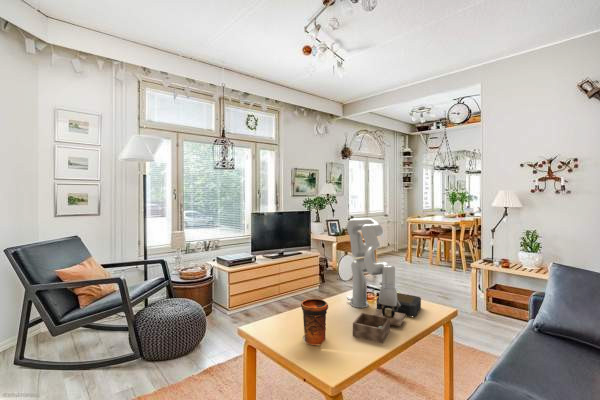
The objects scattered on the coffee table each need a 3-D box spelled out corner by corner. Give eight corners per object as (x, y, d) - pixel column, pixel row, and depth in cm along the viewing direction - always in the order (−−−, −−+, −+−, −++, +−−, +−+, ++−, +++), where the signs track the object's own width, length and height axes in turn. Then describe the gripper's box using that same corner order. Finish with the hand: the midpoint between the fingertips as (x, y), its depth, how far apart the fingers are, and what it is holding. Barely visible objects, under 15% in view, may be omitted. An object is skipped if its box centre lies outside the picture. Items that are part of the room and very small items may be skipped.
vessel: (298, 345, 155) (299, 306, 155) (302, 333, 170) (302, 297, 170) (327, 348, 153) (327, 308, 153) (328, 335, 168) (328, 299, 168)
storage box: (352, 337, 164) (352, 323, 164) (362, 326, 178) (362, 312, 178) (382, 345, 156) (382, 329, 156) (389, 332, 170) (390, 318, 170)
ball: (377, 332, 168) (377, 326, 168) (378, 330, 171) (378, 324, 171) (383, 333, 167) (383, 328, 167) (384, 331, 169) (384, 325, 169)
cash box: (375, 310, 203) (375, 298, 203) (384, 300, 220) (384, 290, 220) (414, 318, 190) (415, 306, 189) (421, 307, 207) (421, 296, 207)
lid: (370, 320, 180) (370, 311, 180) (377, 310, 195) (377, 302, 195) (400, 326, 172) (400, 317, 172) (405, 315, 187) (405, 307, 187)
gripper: (372, 285, 184) (372, 315, 184) (401, 289, 176) (401, 320, 176) (376, 282, 190) (376, 311, 191) (404, 285, 182) (404, 316, 183)
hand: (388, 315), depth 183 cm, fingers closed on lid, 4 cm apart
